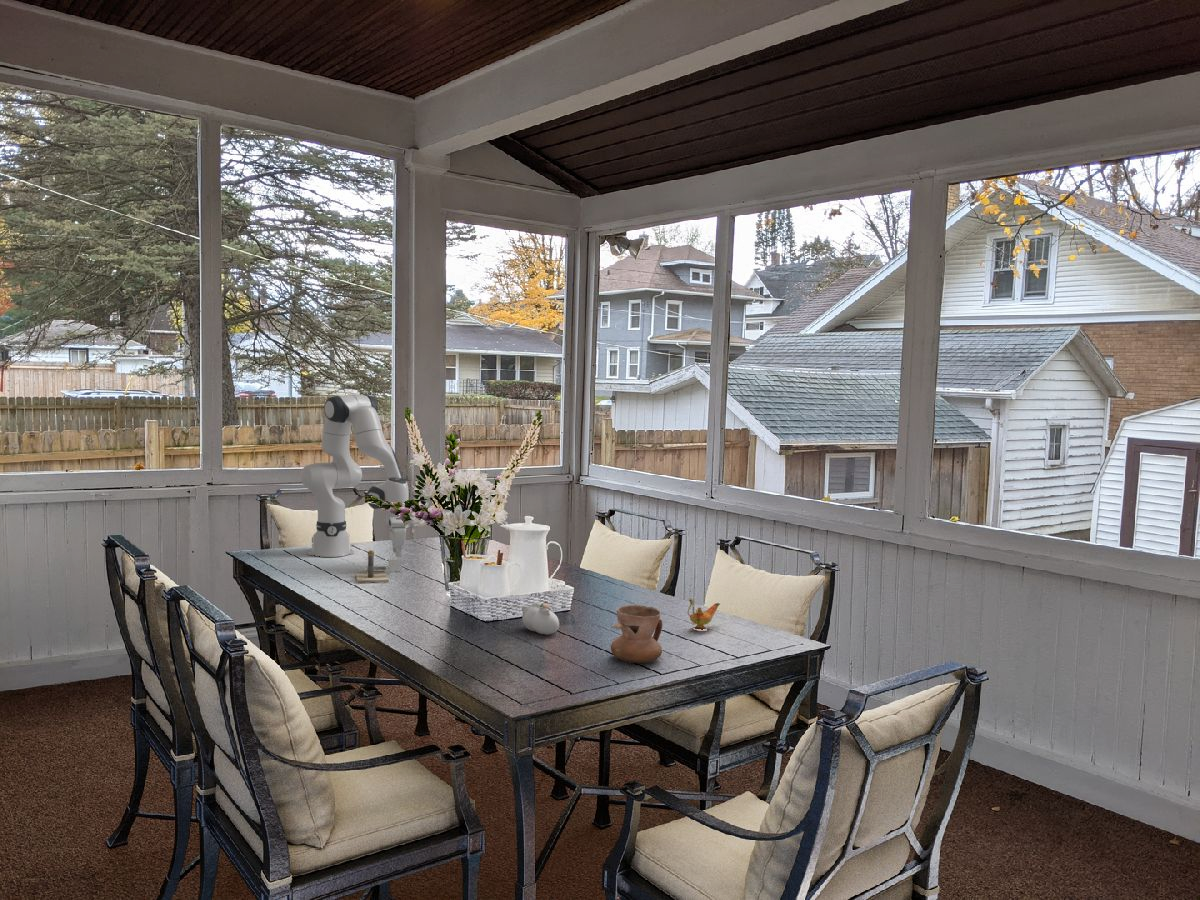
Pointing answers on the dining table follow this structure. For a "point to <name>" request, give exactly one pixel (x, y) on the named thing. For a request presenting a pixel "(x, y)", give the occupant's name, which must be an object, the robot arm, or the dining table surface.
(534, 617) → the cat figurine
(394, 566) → the link
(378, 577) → the peg stand
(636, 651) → the ceramic jug
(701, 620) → the magic lamp
